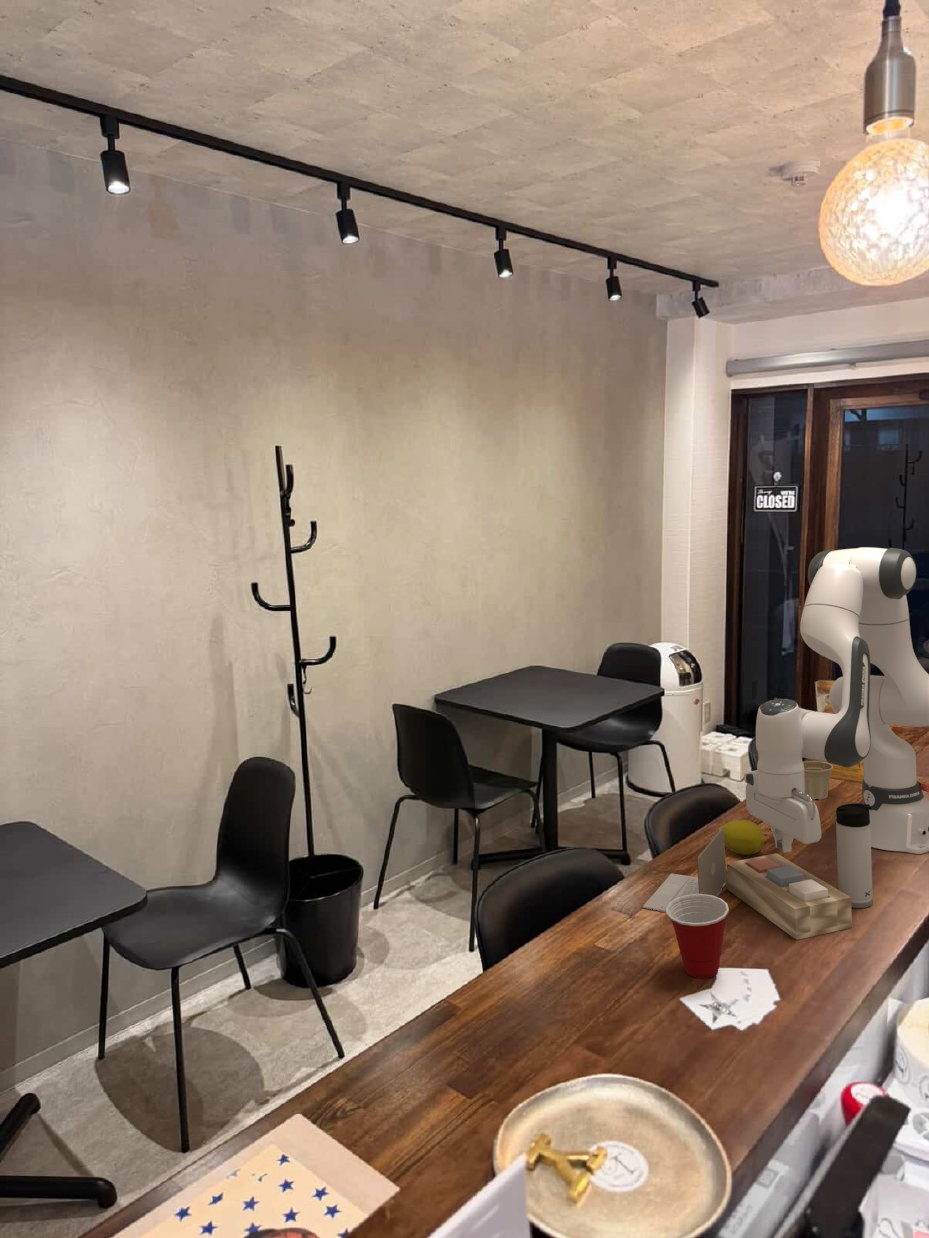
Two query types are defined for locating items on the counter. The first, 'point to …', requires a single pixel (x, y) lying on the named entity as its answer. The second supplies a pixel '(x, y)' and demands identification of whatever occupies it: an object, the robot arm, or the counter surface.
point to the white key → (808, 890)
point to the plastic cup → (699, 931)
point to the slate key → (784, 875)
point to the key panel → (789, 900)
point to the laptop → (706, 882)
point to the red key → (762, 864)
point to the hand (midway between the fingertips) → (783, 849)
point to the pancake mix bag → (824, 706)
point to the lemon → (743, 837)
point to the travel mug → (854, 853)
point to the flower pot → (817, 779)
